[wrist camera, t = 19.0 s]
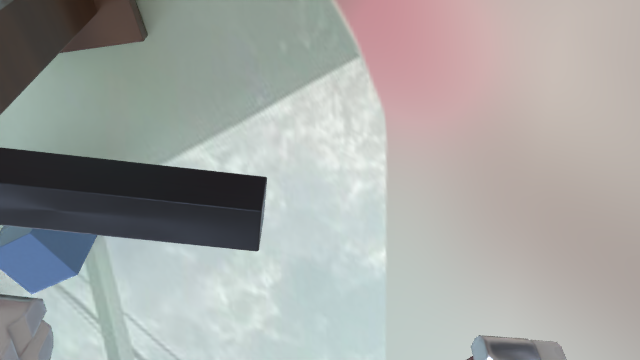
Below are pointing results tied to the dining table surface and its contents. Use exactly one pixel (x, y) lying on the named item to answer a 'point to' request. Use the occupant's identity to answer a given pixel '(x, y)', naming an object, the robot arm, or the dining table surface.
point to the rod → (131, 200)
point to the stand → (57, 35)
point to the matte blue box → (42, 255)
